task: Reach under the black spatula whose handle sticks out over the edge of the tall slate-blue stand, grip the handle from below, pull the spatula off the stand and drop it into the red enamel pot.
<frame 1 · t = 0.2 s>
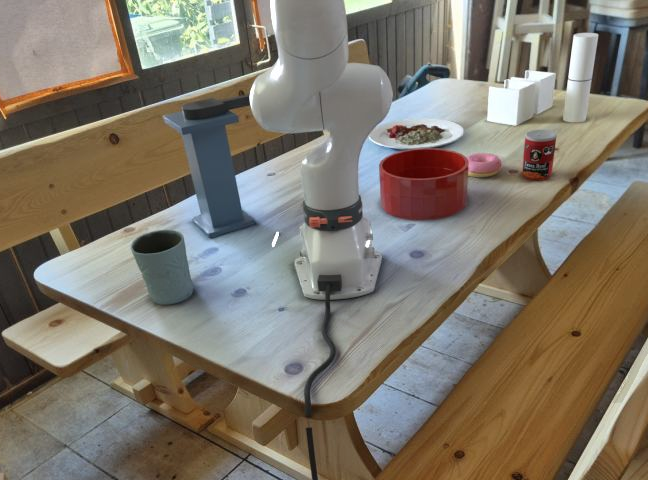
doughnut: (481, 172, 165), on the table
stand: (223, 222, 149), on the table
canned food: (536, 176, 160), on the table
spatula: (220, 110, 135), point 26 cm above the table, touching stand
cylindrical container: (574, 119, 197), on the table
pot: (423, 202, 151), on the table
green cup: (173, 295, 122), on the table
storage container: (520, 114, 206), on the table
plated food: (416, 138, 192), on the table
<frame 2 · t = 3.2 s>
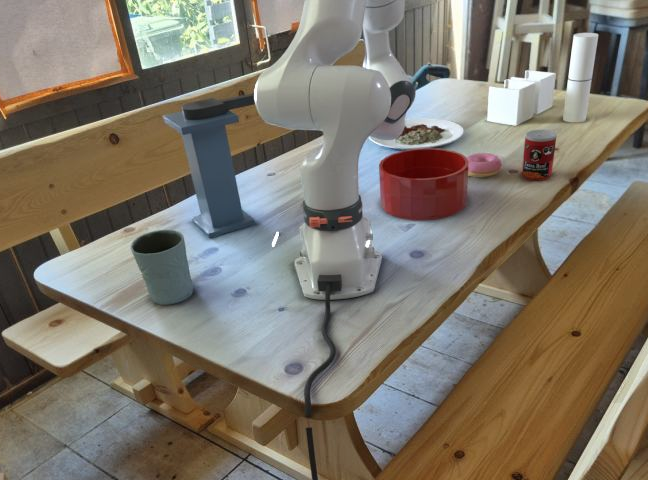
hand: (306, 89, 144), 26 cm above the table, tool pointing upward, fingers open, 8 cm apart
nothing on the table moved.
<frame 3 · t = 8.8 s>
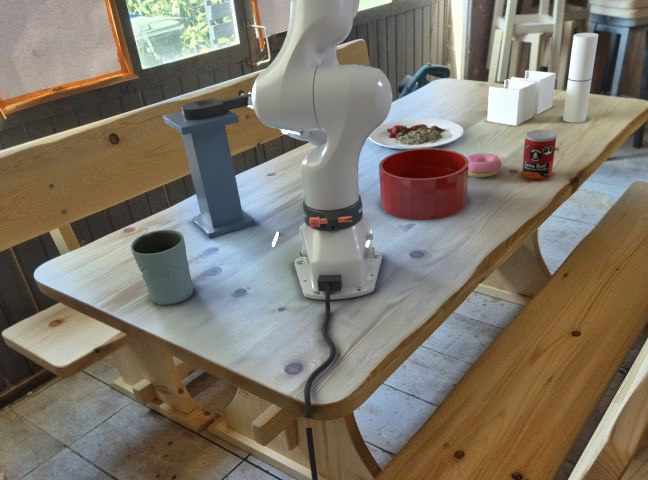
hand: (244, 98, 137), 27 cm above the table, tool pointing upward, fingers closed on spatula, 2 cm apart
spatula: (220, 110, 135), point 26 cm above the table, touching gripper, stand
everything else where it was.
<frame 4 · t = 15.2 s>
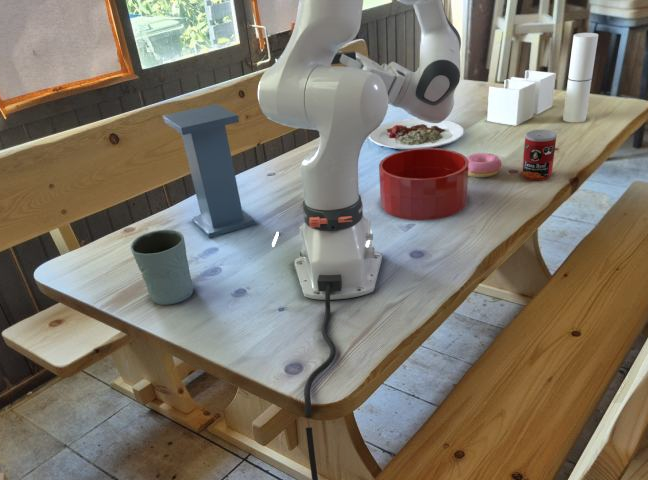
hand: (339, 55, 138), 34 cm above the table, tool pointing upward, fingers closed on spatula
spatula: (313, 65, 138), point 32 cm above the table, touching gripper
everything else where it was.
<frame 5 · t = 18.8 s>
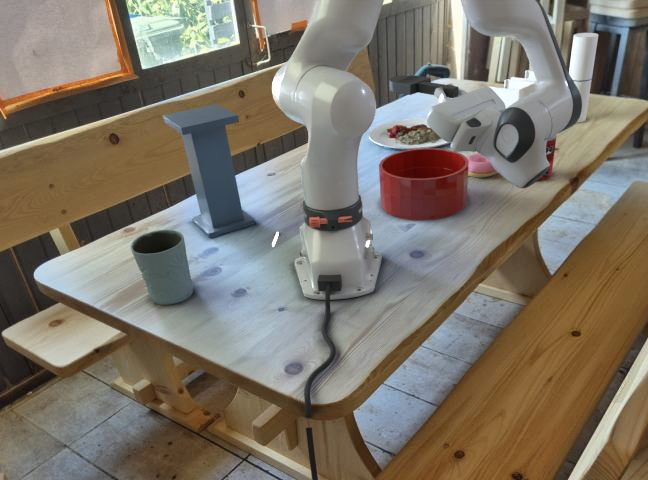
hand: (442, 88, 131), 28 cm above the table, tool pointing upward, fingers closed on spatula, 2 cm apart
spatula: (420, 91, 136), point 26 cm above the table, touching gripper
everything else where it was.
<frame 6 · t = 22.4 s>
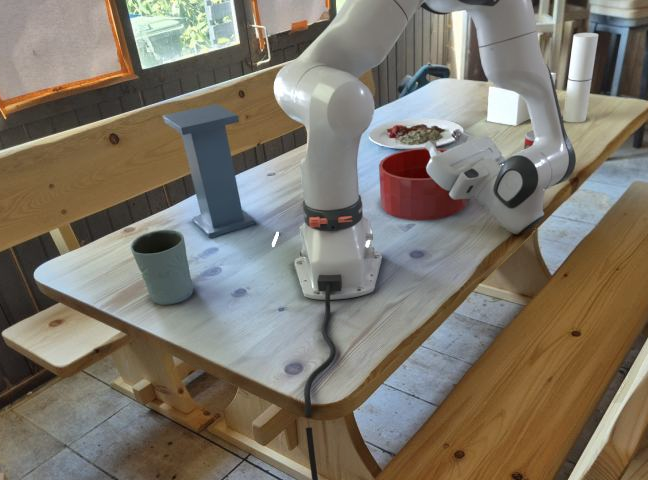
hand: (441, 137, 137), 17 cm above the table, tool pointing upward, fingers open, 8 cm apart
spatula: (423, 198, 151), point 1 cm above the table, touching pot
everything else where it was.
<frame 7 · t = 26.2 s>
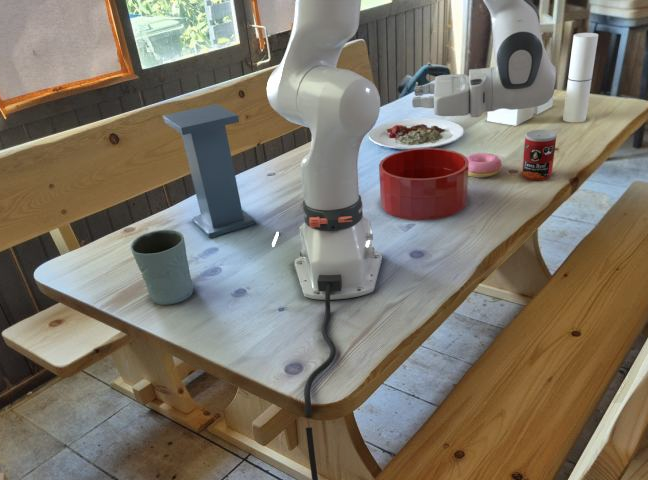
hand: (413, 96, 132), 26 cm above the table, tool horizontal, fingers open, 8 cm apart
nothing on the table moved.
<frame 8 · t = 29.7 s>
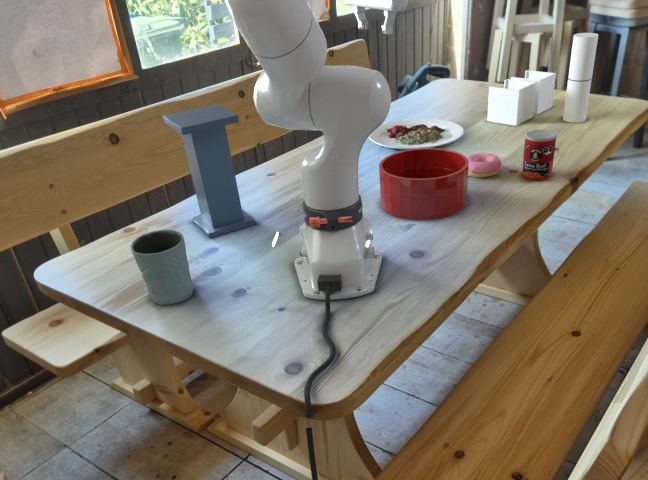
hand: (375, 31, 129), 39 cm above the table, tool pointing down, fingers open, 8 cm apart
nothing on the table moved.
at the end: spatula inside the target area in the pot (0.2 cm from its centre), point 0.8 cm above the pot's base; the gripper is holding nothing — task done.
